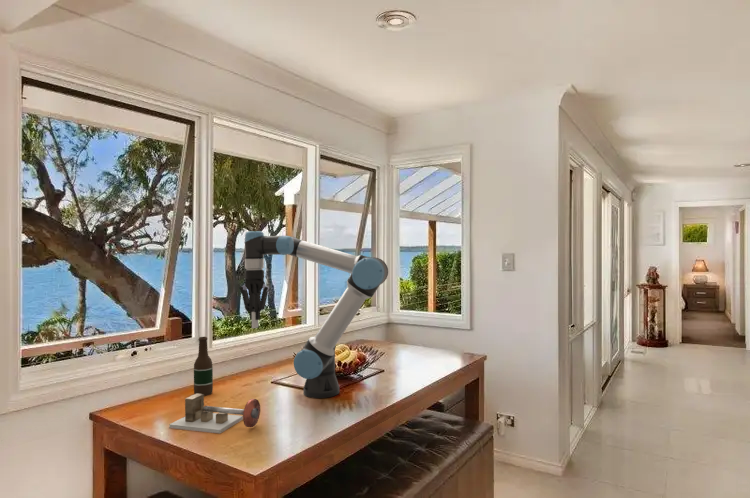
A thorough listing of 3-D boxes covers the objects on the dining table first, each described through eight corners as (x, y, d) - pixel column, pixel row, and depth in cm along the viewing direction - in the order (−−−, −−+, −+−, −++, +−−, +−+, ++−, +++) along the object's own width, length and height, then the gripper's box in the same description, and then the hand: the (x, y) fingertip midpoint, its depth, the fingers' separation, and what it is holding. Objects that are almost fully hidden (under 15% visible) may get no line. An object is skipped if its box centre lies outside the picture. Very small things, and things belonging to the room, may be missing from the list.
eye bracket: (230, 418, 172) (229, 396, 172) (219, 425, 166) (219, 401, 166) (196, 415, 176) (196, 393, 176) (185, 421, 170) (185, 398, 170)
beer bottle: (206, 396, 202) (206, 339, 202) (189, 395, 204) (189, 338, 204) (216, 391, 210) (216, 335, 210) (200, 390, 211) (199, 335, 212)
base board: (242, 419, 175) (242, 415, 175) (220, 433, 161) (220, 429, 161) (195, 414, 180) (195, 411, 180) (169, 427, 167) (169, 424, 167)
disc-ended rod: (263, 422, 170) (262, 395, 170) (249, 431, 161) (248, 404, 161) (212, 417, 175) (212, 391, 175) (196, 426, 167) (196, 399, 167)
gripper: (273, 269, 199) (274, 326, 199) (245, 269, 202) (245, 325, 202) (264, 269, 192) (264, 329, 191) (235, 269, 195) (235, 328, 195)
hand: (255, 327), depth 197 cm, fingers closed
